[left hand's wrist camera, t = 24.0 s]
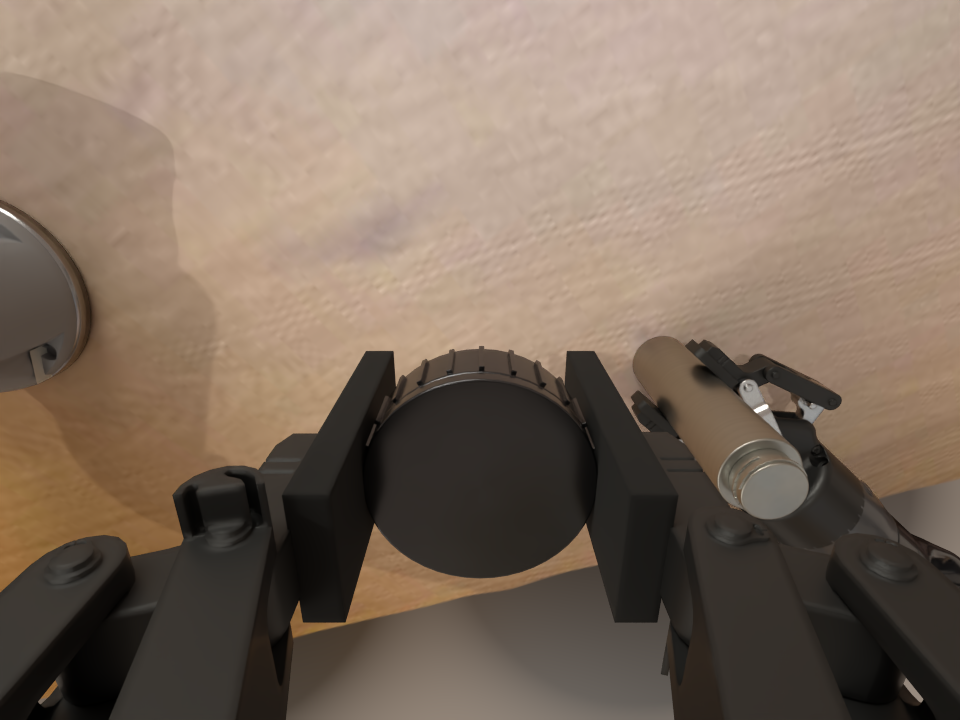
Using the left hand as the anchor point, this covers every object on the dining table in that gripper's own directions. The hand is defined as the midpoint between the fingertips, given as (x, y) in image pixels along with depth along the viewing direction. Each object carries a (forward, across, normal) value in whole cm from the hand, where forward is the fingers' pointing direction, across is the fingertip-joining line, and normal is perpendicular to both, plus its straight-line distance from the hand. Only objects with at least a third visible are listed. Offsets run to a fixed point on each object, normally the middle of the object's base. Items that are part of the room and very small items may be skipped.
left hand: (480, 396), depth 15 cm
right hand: (+20, +13, -8) cm, 25 cm away
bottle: (+26, +15, -9) cm, 32 cm away
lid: (-4, 0, 0) cm, 4 cm away
